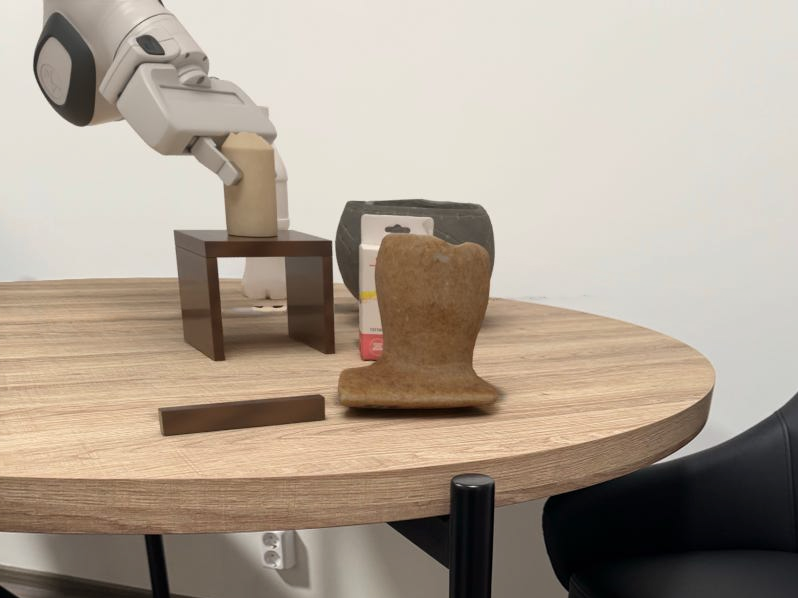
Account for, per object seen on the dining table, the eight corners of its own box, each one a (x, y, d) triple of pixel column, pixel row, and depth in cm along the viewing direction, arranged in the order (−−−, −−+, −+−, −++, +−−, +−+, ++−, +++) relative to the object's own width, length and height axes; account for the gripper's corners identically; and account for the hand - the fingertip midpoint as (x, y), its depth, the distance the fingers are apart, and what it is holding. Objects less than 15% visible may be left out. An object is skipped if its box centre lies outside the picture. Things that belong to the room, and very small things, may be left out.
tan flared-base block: (481, 389, 96) (488, 229, 89) (507, 420, 85) (517, 241, 78) (330, 389, 93) (326, 223, 86) (339, 421, 82) (334, 236, 75)
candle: (275, 238, 102) (270, 133, 97) (223, 235, 101) (215, 130, 96) (280, 233, 106) (275, 133, 102) (231, 231, 106) (223, 130, 101)
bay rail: (164, 435, 76) (161, 411, 75) (160, 432, 77) (157, 407, 76) (325, 419, 83) (324, 396, 82) (320, 416, 84) (319, 393, 83)
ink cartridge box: (361, 361, 105) (359, 217, 98) (358, 352, 109) (357, 213, 102) (437, 362, 106) (441, 220, 100) (432, 353, 111) (435, 216, 104)
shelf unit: (214, 361, 101) (204, 241, 96) (184, 340, 110) (173, 229, 105) (335, 353, 108) (332, 240, 102) (297, 334, 117) (292, 229, 111)
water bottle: (242, 309, 132) (228, 103, 120) (242, 301, 138) (229, 105, 126) (294, 310, 133) (285, 107, 121) (292, 302, 139) (283, 108, 127)
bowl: (435, 345, 115) (438, 211, 108) (304, 323, 124) (299, 198, 117) (520, 324, 131) (527, 206, 124) (398, 306, 140) (399, 195, 133)
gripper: (207, 101, 110) (285, 199, 111) (86, 90, 92) (182, 206, 94) (237, 57, 106) (318, 158, 108) (118, 37, 89) (216, 158, 91)
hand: (253, 181), depth 101 cm, fingers closed on candle, 5 cm apart
